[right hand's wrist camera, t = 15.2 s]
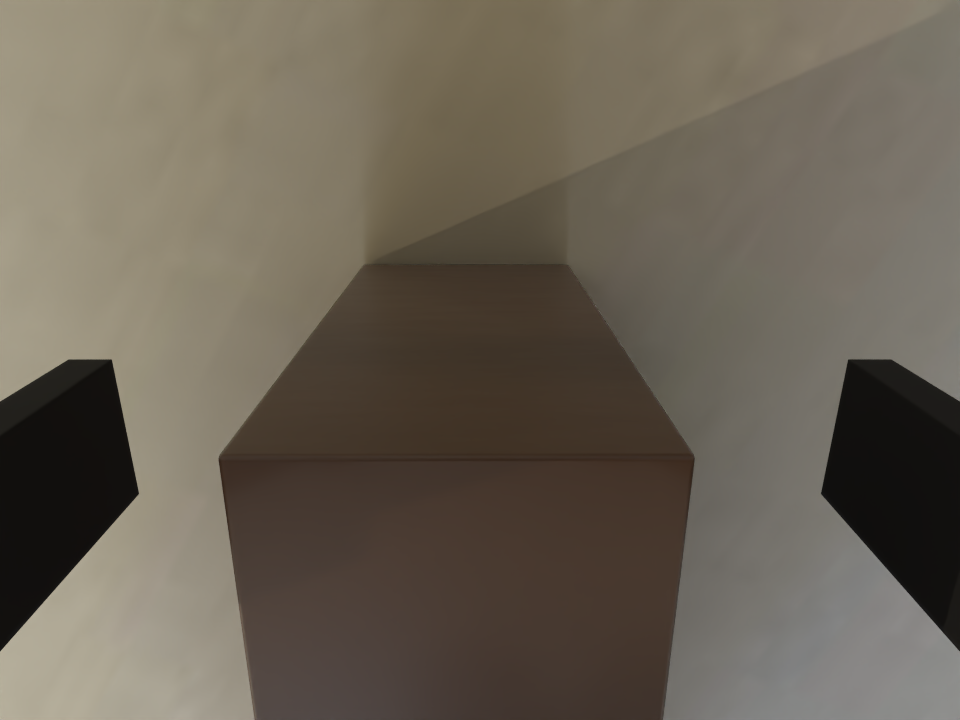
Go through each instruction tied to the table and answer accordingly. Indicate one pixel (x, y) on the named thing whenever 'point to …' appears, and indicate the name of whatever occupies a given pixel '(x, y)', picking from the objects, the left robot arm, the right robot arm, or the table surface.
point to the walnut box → (458, 509)
